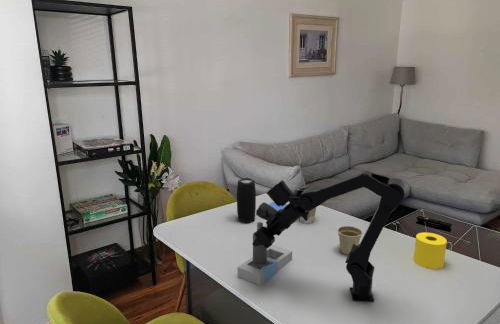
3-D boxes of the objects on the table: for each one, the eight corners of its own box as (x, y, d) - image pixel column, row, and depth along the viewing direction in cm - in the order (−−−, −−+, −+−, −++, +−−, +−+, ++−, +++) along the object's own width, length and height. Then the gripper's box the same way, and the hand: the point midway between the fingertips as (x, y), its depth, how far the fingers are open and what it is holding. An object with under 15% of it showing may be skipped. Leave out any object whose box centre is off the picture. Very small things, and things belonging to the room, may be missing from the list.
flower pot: (362, 258, 141) (363, 237, 139) (336, 256, 143) (337, 235, 141) (360, 247, 150) (361, 226, 148) (335, 244, 152) (337, 225, 150)
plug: (267, 264, 128) (268, 226, 125) (253, 265, 128) (253, 226, 124) (265, 257, 133) (265, 220, 130) (252, 258, 133) (251, 221, 129)
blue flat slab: (279, 221, 176) (279, 218, 176) (255, 216, 182) (255, 214, 181) (294, 207, 193) (294, 205, 193) (271, 203, 198) (271, 201, 198)
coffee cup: (292, 219, 177) (293, 188, 174) (309, 215, 181) (311, 185, 178) (303, 226, 169) (304, 195, 165) (321, 223, 173) (323, 192, 169)
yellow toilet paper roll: (437, 255, 143) (440, 232, 141) (448, 269, 133) (451, 245, 131) (409, 254, 144) (412, 232, 142) (418, 268, 134) (421, 244, 132)
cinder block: (292, 259, 140) (293, 248, 139) (260, 285, 124) (260, 273, 123) (271, 252, 146) (271, 241, 145) (237, 276, 129) (237, 264, 128)
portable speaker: (236, 224, 172) (236, 183, 167) (237, 216, 181) (237, 177, 176) (255, 224, 171) (255, 183, 167) (255, 216, 181) (255, 177, 176)
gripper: (280, 189, 131) (251, 214, 138) (260, 206, 115) (228, 234, 122) (301, 213, 130) (271, 237, 137) (284, 235, 114) (251, 261, 121)
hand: (256, 241), depth 129 cm, fingers closed on plug, 5 cm apart
